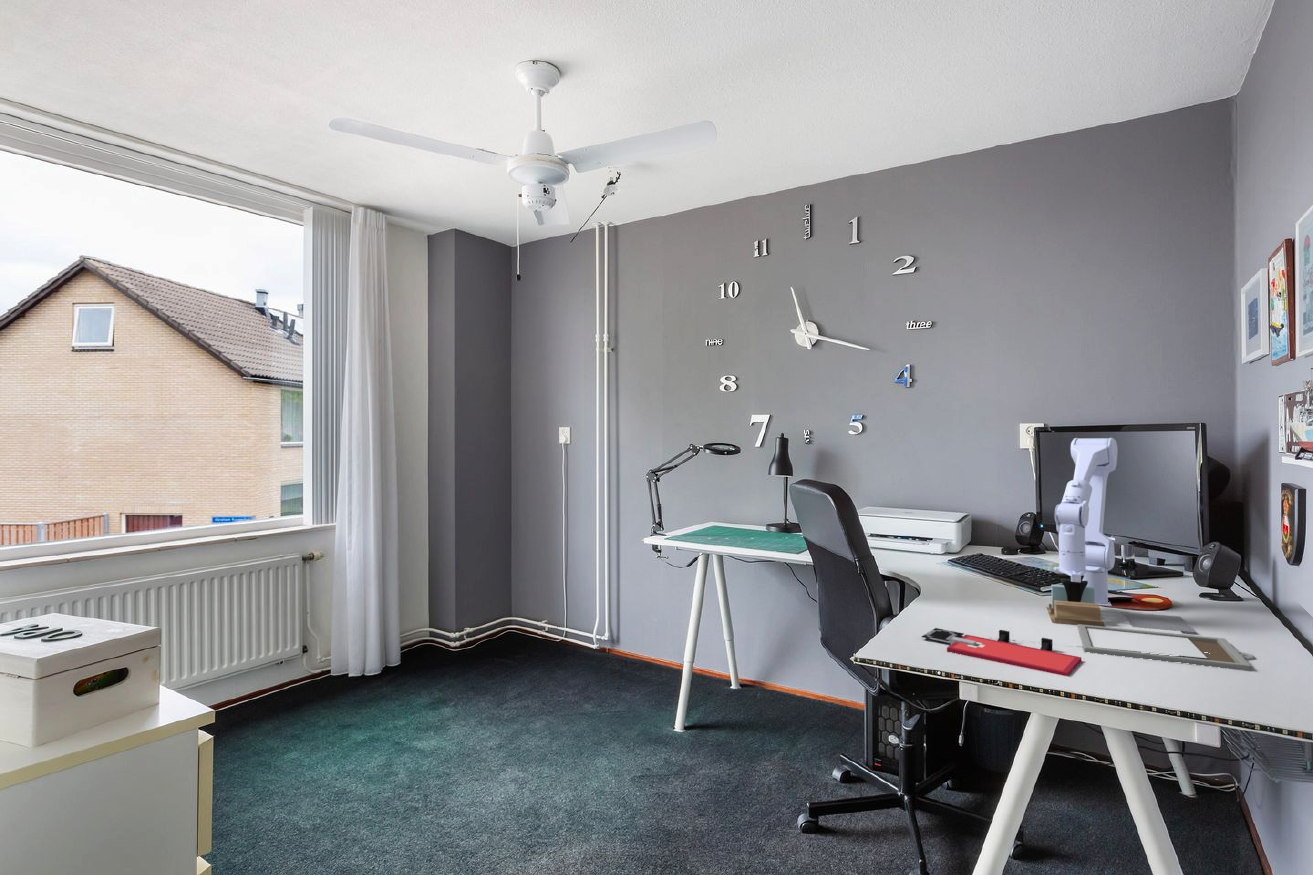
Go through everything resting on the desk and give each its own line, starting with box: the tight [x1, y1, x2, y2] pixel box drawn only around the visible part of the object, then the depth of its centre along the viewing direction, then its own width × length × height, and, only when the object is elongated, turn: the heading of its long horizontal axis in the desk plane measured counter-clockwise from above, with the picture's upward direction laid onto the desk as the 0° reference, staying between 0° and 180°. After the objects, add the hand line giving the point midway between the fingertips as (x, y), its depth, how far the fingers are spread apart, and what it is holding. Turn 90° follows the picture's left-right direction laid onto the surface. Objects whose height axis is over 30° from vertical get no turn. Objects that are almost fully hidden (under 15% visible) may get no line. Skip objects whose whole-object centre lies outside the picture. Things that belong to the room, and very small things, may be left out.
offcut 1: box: [1054, 600, 1100, 616], centre depth 166 cm, size 2×9×4 cm, turn 65°
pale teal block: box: [1051, 584, 1094, 608], centre depth 172 cm, size 2×9×6 cm, turn 65°
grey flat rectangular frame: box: [1076, 624, 1256, 672], centre depth 146 cm, size 19×2×30 cm
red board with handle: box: [921, 627, 1082, 677], centre depth 146 cm, size 30×3×15 cm
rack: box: [1046, 603, 1107, 627], centre depth 168 cm, size 16×11×2 cm
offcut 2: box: [1055, 603, 1101, 621], centre depth 164 cm, size 2×9×4 cm, turn 65°
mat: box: [1121, 611, 1198, 635], centre depth 163 cm, size 14×12×1 cm
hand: (1072, 605), depth 172 cm, fingers open, 5 cm apart
